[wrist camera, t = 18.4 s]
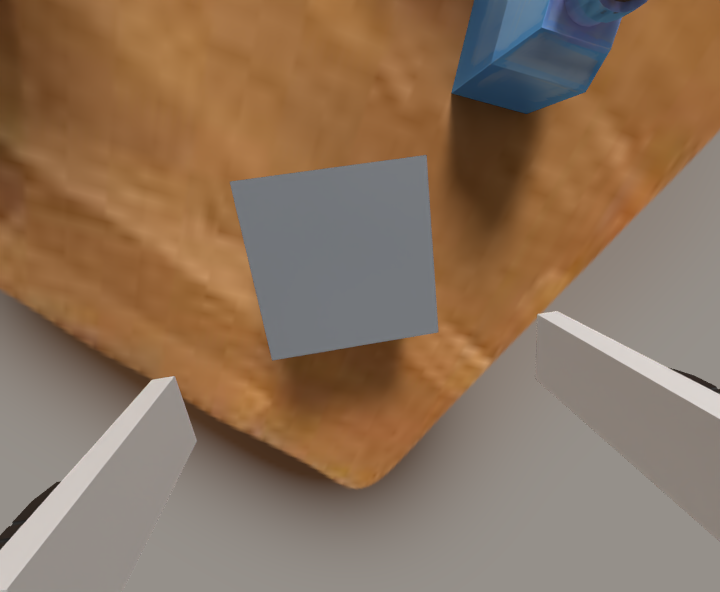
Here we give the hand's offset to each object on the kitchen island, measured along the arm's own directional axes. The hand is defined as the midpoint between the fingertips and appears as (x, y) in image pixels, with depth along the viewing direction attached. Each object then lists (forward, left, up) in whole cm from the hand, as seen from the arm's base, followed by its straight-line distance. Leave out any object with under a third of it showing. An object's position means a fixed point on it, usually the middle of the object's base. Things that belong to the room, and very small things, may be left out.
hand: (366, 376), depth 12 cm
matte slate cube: (-2, 0, -17) cm, 17 cm away
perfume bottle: (-14, +14, -17) cm, 26 cm away
